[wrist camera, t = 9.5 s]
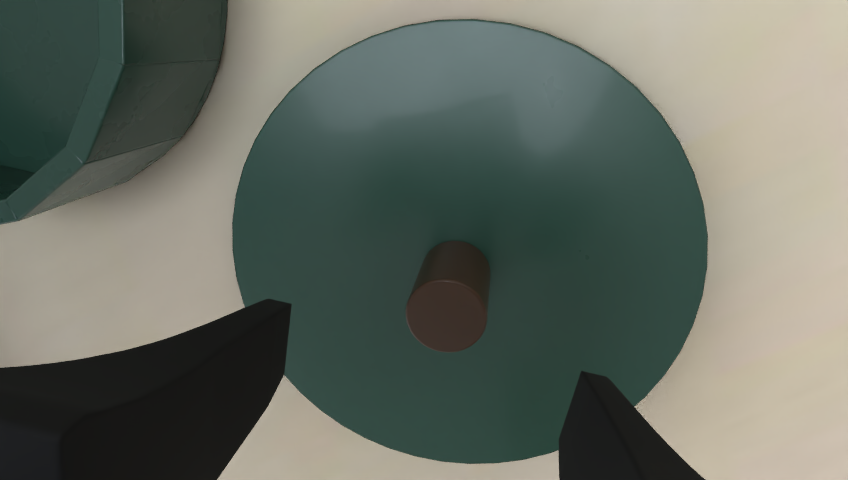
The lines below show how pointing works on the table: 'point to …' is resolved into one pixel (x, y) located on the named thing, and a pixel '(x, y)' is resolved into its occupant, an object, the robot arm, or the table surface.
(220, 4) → the pot
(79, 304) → the table surface
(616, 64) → the table surface
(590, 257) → the lid
